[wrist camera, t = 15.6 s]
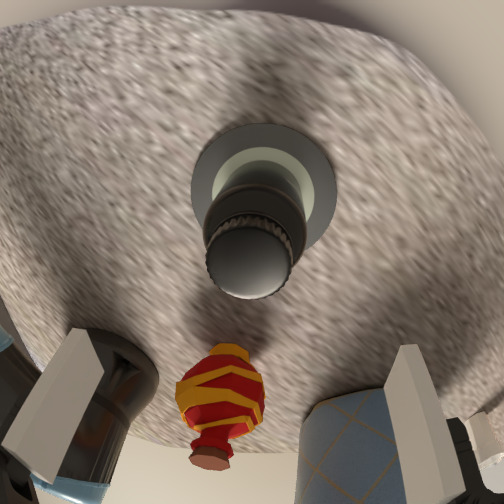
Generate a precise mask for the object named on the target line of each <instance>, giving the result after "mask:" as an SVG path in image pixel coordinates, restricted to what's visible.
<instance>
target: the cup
mask: <svg viewBox="0 0 504 504" xmlns="http://www.w3.org/2000/svg"><path fill="white" fill-rule="evenodd" d="M465 427H466V429H467V432H468V435H469V438H470V439H469V441H471V444H472V447H473V448H472V450H474V454H475V457H476V460H477V463H478V467H479V470H480V469H483V468H486V467H488V466H490V465H492V464H493V463H495V462H496V461H498V460H499V459H500V458H502V457H503V455H504V450H503V447H502V445H501V442H500V441H498V439H497V437H496V435H495V433H494V430H493V428H492V426H491V424H490V421H489V419H488V417H487V414H486V413H485V412H484V411H483V412H480V413H476V414H475V415H473V416H472V417H470V418H469V419H468V420H467V421H466V422H465Z"/></svg>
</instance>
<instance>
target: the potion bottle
mask: <svg viewBox="0 0 504 504" xmlns="http://www.w3.org/2000/svg"><path fill="white" fill-rule="evenodd" d="M209 353H210V356H208V357H206V358H204V359H202V360H201V361H200V362H199V363H197V364H196V365H195V366H194V367H192V368H191V369H190V370H189V371H188V372H186V373H185V375H184V377H183V378H182V380H181V381H180V382H176V393H175V400H176V402H177V404H178V407H179V410H180V413H181V416H182V420H183V421H184V422H186V424H187V426H188V427H189V428H191V429H193V430H195V431H197V432H199V433H201V435H200V438H197V439H195V440H193V441H192V442H191V444H190V446H191V448H192V450H193V452H192V454H191V455H190V457H189V459H190V461H191V463H192V464H194V465H196V466H198V467H201V468H203V469H207V470H217V471H222V470H225V469H228V468H230V465H229V460H228V459H229V458H231V457H232V456H233V455H234V454H233V450H232V447H231V444H229V443H228V439H235V438H238V437H240V436H243V435H245V434H248V433H250V432H252V431H253V430H254V429H255V426H257V425H259V424H260V423H261V422H263V412H264V408H265V405H264V399H265V398H266V396H265V391H264V385H263V380H262V376H261V374H260V373H258V372H257V371H256V370H255V368H254V367H253V365H251V364H250V360H249V353H248V351H246V350H245V349H243V348H241V347H240V346H238V345H237V344H225V343H218V344H217V345H216V346H215V347H214V348H212V349H211V350H210V351H209ZM183 413H184V414H185V416H186V417H185V416H184V414H183Z"/></svg>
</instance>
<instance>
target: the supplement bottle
mask: <svg viewBox="0 0 504 504" xmlns="http://www.w3.org/2000/svg"><path fill="white" fill-rule="evenodd" d="M203 241H204V245H205V248H206V250H207V252H206V255H205V256H206V262H205V263H206V265H207V271H208V272H209V274H210V278H211V279H212V280H213V281H214V284H216V285H217V286H218V287H219V289H221V290H223V291H224V292H225V293H226V294H230V295H232V296H233V297H238V298H240V299H247V300H252V299H255V300H258V299H260V298H266V297H267V296H271V295H273V294H274V293H275V292H278V291H279V290H280V288H281V287H283V286H284V285H285V282H286V281H288V279H289V275H290V274H291V271H292V268H293V267H294V266H295V265H296V264H297V263H298V261H299V260H300V258H301V257H302V255H303V252H304V250H305V247H306V243H307V223H306V217H305V210H304V204H303V198H302V193H301V189H300V186H299V183H298V181H297V180H296V178H295V177H294V175H293V174H292V173H291V172H290V171H289V170H288V169H287V168H285V167H284V166H282V165H280V164H278V163H276V162H272V161H268V160H256V161H251V162H248V163H245V164H243V165H242V166H240V167H238V168H237V169H236V170H235V171H234V172H233V173H232V174H231V175H230V176H229V178H228V179H227V181H226V182H225V184H224V185H223V187H222V188H221V190H220V191H219V193H218V194H217V196H216V197H215V199H214V200H213V202H212V204H211V205H210V207H209V209H208V211H207V213H206V215H205V218H204V222H203Z"/></svg>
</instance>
